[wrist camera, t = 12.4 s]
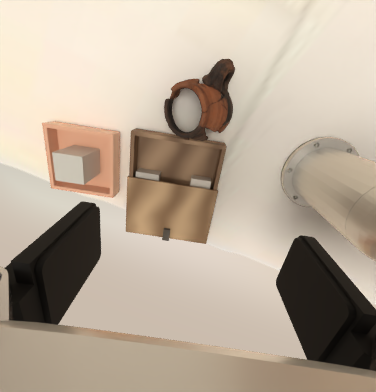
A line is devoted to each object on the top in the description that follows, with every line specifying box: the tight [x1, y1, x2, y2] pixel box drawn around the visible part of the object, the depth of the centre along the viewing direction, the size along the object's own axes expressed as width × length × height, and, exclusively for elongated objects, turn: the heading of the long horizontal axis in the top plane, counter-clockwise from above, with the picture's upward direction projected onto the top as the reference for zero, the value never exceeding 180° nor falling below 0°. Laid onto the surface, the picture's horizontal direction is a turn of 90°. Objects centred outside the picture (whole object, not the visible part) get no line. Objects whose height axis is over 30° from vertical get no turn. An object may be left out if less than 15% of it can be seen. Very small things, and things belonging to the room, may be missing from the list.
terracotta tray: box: [42, 121, 120, 198], centre depth 36 cm, size 11×11×3 cm
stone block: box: [52, 145, 100, 185], centre depth 35 cm, size 4×4×6 cm
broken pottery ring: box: [164, 59, 235, 141], centre depth 31 cm, size 12×10×8 cm
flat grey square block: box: [136, 168, 161, 181], centre depth 37 cm, size 4×4×2 cm
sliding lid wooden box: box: [126, 129, 227, 244], centre depth 37 cm, size 16×19×4 cm
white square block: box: [190, 175, 211, 189], centre depth 38 cm, size 4×4×2 cm
